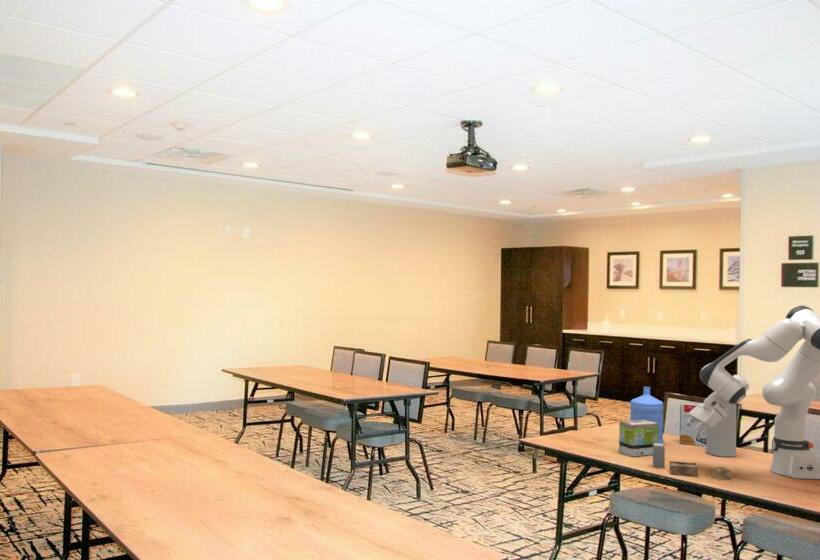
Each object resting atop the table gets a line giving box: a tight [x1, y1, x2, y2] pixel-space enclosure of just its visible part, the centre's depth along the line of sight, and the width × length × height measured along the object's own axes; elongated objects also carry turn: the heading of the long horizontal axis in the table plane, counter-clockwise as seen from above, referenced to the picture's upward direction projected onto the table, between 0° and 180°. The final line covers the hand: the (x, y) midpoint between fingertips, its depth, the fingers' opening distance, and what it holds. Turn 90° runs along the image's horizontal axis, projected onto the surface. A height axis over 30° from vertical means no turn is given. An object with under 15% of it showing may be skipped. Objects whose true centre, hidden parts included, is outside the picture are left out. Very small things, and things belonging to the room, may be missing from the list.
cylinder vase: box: [705, 404, 737, 458], centre depth 303 cm, size 12×12×25 cm
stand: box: [669, 460, 699, 478], centre depth 269 cm, size 10×8×4 cm
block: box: [712, 466, 732, 481], centre depth 262 cm, size 5×5×4 cm
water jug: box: [629, 386, 664, 445], centre depth 324 cm, size 16×16×28 cm
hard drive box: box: [679, 401, 706, 448], centre depth 324 cm, size 16×8×20 cm, turn 62°
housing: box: [652, 443, 666, 469], centre depth 279 cm, size 4×4×10 cm
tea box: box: [618, 420, 659, 457], centre depth 302 cm, size 15×10×15 cm
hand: (690, 428), depth 276 cm, fingers open, 8 cm apart
